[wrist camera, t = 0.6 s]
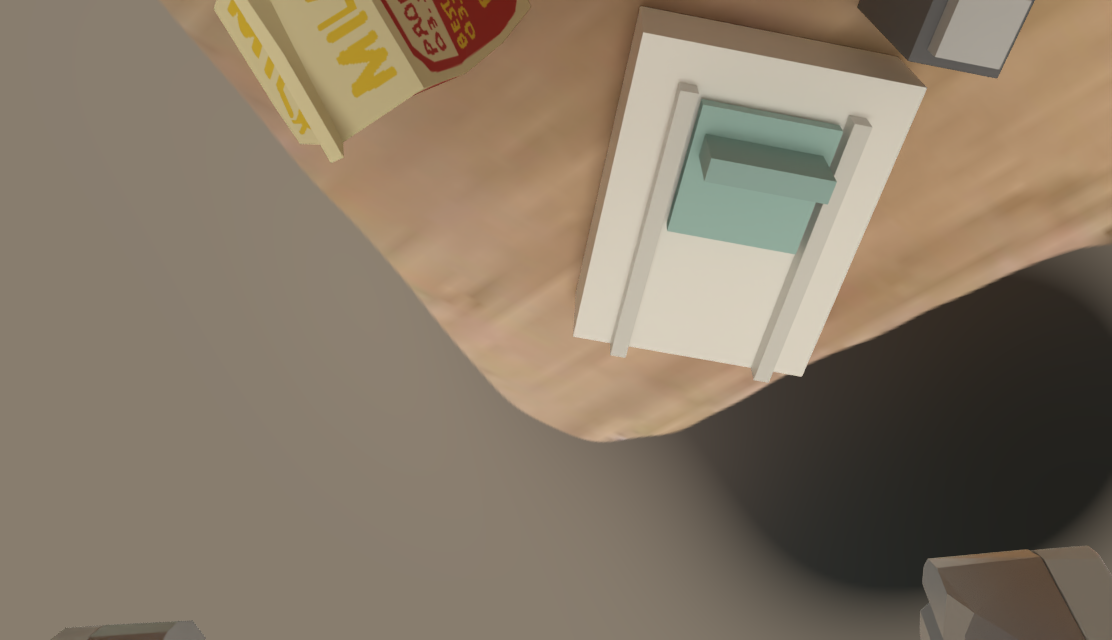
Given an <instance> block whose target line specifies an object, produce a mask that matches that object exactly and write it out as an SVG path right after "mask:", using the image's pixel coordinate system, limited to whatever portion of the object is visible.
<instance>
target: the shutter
mask: <svg viewBox="0 0 1112 640" xmlns="http://www.w3.org/2000/svg"><path fill="white" fill-rule="evenodd" d="M842 134H843V130H842V128H841V127H840V125H835V124H830V123H824V122H819V121H814V120H809V119H804V118H798V117H793V116H788V115H783V114H778V113H772V112H767V111H762V110H757V109H752V108H746V107H741V106H736V105H731V104H726V103H720V102H715V101H710V100H705V99H701V103H700V107H699V110H698V114H697V117H696V121H695V124H694V128H693V131H692V135H691V138H690V142H689V146H688V149H687V153H686V156H685V160H684V163H683V167H682V170H681V174H680V177H679V181H678V185H677V188H676V192H675V195H674V199H673V202H672V206H671V209H670V213H669V217H668V220H667V224H666V225H667V231H670V232H675V233H680V234H686V235H691V236H697V237H702V238H708V239H713V240H719V241H724V242H730V243H735V244H741V245H746V246H752V247H757V248H762V249H768V250H773V251H779V252H784V253H790V254H795V255H796V252H797V250H798V247H799V245H800V242H801V240H802V237H803V234H804V232H805V229H806V227H807V224H808V222H809V219H810V216H811V214H812V211H813V209H814V206H815V204H816V203H822V204H827V205H828V203H829V200H830V198H831V195H832V193H833V190H834V188H835V185H836V183H837V181H836V179H835V177H834V175H833V173H832V171H831V170H830V168H829V167H830V165H831V162H832V160H833V157H834V155H835V152H836V149H837V147H838V144H839V142H840V139H841V137H842Z"/></svg>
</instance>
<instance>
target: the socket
mask: <svg viewBox="0 0 1112 640" xmlns="http://www.w3.org/2000/svg"><path fill="white" fill-rule="evenodd" d="M926 89H927V87H926V86H925V85H924V84H923V83H922V82H921V81H920V80H919V79H918V78H917V77H916V75H915V74H914V73H913V72H912V71H911V70H910V69H909V68H908V67H907V66H906V65H905V64H904V63H903V62H902V61H901V59H900V58H899V57H897V56H892V55H887V54H882V53H877V52H872V51H867V50H862V49H856V48H851V47H846V46H841V45H836V44H831V43H826V42H821V41H816V40H811V39H806V38H801V37H796V36H791V35H786V34H781V33H775V32H770V31H765V30H760V29H755V28H750V27H745V26H740V25H735V24H730V23H725V22H720V21H715V20H710V19H705V18H699V17H694V16H689V15H684V14H679V13H674V12H669V11H664V10H659V9H654V8H649V7H644V6H640V9H639V13H638V18H637V22H636V26H635V31H634V35H633V40H632V44H631V49H630V53H629V58H628V62H627V66H626V71H625V75H624V80H623V84H622V89H621V93H620V98H619V102H618V106H617V111H616V115H615V120H614V124H613V129H612V133H611V138H610V142H609V146H608V151H607V155H606V160H605V164H604V169H603V173H602V178H601V182H600V187H599V191H598V195H597V200H596V204H595V209H594V213H593V218H592V222H591V227H590V231H589V235H588V240H587V244H586V249H585V253H584V258H583V262H582V267H581V271H580V275H579V280H578V284H577V289H576V297H575V313H574V329H573V337H578V338H584V339H590V340H595V341H601V342H607V343H610V355H613V356H618V357H624V358H625V357H626V354H627V350H628V347H629V346H630V347H635V348H641V349H647V350H653V351H658V352H664V353H670V354H675V355H681V356H687V357H693V358H698V359H704V360H710V361H716V362H721V363H727V364H733V365H738V366H744V367H750V368H751V370H752V375H753V379H754V380H756V381H762V382H768V383H769V380H770V378H771V376H772V373H773V372H778V373H784V374H790V375H796V376H802V375H803V373H804V370H805V368H806V366H807V363H808V361H809V359H810V356H811V354H812V352H813V350H814V347H815V345H816V343H817V340H818V338H819V336H820V333H821V331H822V329H823V327H824V324H825V322H826V320H827V317H828V315H829V313H830V310H831V308H832V306H833V304H834V301H835V299H836V297H837V294H838V292H839V290H840V287H841V285H842V283H843V280H844V278H845V276H846V274H847V271H848V269H849V267H850V264H851V262H852V260H853V257H854V255H855V253H856V251H857V248H858V246H859V244H860V241H861V239H862V237H863V234H864V232H865V230H866V228H867V225H868V223H869V221H870V218H871V216H872V214H873V211H874V209H875V207H876V204H877V202H878V200H879V198H880V195H881V193H882V191H883V188H884V186H885V184H886V181H887V179H888V177H889V175H890V172H891V170H892V168H893V165H894V163H895V161H896V158H897V156H898V154H899V151H900V149H901V147H902V145H903V142H904V140H905V138H906V135H907V133H908V131H909V128H910V126H911V124H912V122H913V119H914V117H915V115H916V112H917V110H918V108H919V105H920V103H921V101H922V99H923V96H924V94H925V92H926ZM701 99H705V100H710V101H715V102H720V103H726V104H731V105H736V106H741V107H746V108H752V109H757V110H762V111H767V112H772V113H778V114H783V115H788V116H793V117H798V118H804V119H809V120H814V121H819V122H824V123H830V124H835V125H840V127H841V128H842V130H843V134H842V137H841V139H840V142H839V144H838V147H837V149H836V152H835V155H834V157H833V160H832V162H831V165H830V167H829V168H830V170H831V171H832V173H833V175H834V177H835V179H836V181H837V183H836V185H835V188H834V190H833V193H832V195H831V198H830V200H829V203H828V205H827V204H822V203H816V204H815V206H814V209H813V211H812V214H811V216H810V219H809V222H808V224H807V227H806V229H805V232H804V234H803V237H802V240H801V242H800V245H799V247H798V250H797V252H796V255H795V254H790V253H784V252H779V251H773V250H768V249H762V248H757V247H752V246H746V245H741V244H735V243H730V242H724V241H719V240H713V239H708V238H702V237H697V236H691V235H686V234H680V233H675V232H670V231H667V225H666V224H667V220H668V217H669V213H670V209H671V206H672V202H673V199H674V195H675V192H676V188H677V185H678V181H679V177H680V174H681V170H682V167H683V163H684V160H685V156H686V153H687V149H688V146H689V142H690V138H691V135H692V131H693V128H694V124H695V121H696V117H697V114H698V110H699V107H700V103H701Z"/></svg>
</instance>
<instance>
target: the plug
mask: <svg viewBox="0 0 1112 640" xmlns="http://www.w3.org/2000/svg"><path fill="white" fill-rule="evenodd" d="M1034 1H1035V0H860V1H859V4H858V7H857V8H858V9H859V10H860V11H861V12H862V13H863V14H864V15H865V16H866V17H867V18H868V19H869V20H870V21H871V22H872V23H873V24H874V25H875V27H876V28H877V29H878V30H879V31H880V32H881V33H882V34H883V35H884V36H885V37H886V38H887V39H888V40H889V41H890V42H891V43H892V44H893V46H894V47H895V48H896V49H897V50H898V51H899V52H900V53H901V54H902V55H903V56H904V57H905V58H906V59H907V60H908V61H911V62H916V63H921V64H926V65H931V66H936V67H941V68H947V69H952V70H957V71H962V72H967V73H972V74H977V75H982V76H987V77H992V78H998V76H999V74H1000V72H1001V70H1002V67H1003V65H1004V63H1005V61H1006V59H1007V57H1008V55H1009V53H1010V51H1011V49H1012V47H1013V45H1014V42H1015V40H1016V38H1017V36H1018V34H1019V32H1020V30H1021V28H1022V26H1023V24H1024V22H1025V20H1026V17H1027V15H1028V13H1029V11H1030V9H1031V7H1032V5H1033V3H1034Z"/></svg>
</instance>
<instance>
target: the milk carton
mask: <svg viewBox="0 0 1112 640" xmlns="http://www.w3.org/2000/svg"><path fill="white" fill-rule="evenodd" d="M530 8H531V6H530V4H529V2H528V0H217V1H216V3H215V6H214V10H215V12H216V13H217V15H218V17H219V18H220V20H221V21H222V23H223V25H224V26H225V28H226V29H227V31H228V33H229V34H230V36H231V38H232V39H233V41H234V42H235V44H236V46H237V47H238V49H239V50H240V52H241V54H242V55H243V57H244V58H245V60H246V62H247V63H248V65H249V66H250V68H251V70H252V71H253V73H254V74H255V76H256V78H257V79H258V81H259V82H260V84H261V86H262V87H263V89H264V90H265V92H266V94H267V95H268V97H269V98H270V100H271V102H272V103H273V105H274V106H275V108H276V110H277V111H278V112H279V114H280V115H281V117H282V118H283V120H284V121H285V123H286V124H287V125H288V127H289V128H290V130H291V131H292V133H293V134H294V136H295V137H296V139H297V140H298V141H299V143H300V144H320V145H321V147H322V149H323V150H324V152H325V154H326V156H327V157H328V159H329V161H330V162H331V163H332V162H335V161H337V160H339V159H342V158H344V154H343V142H344V141H346V140H347V139H349V138H350V137H352V136H353V135H355V134H356V133H358V132H359V131H361V130H362V129H364V128H365V127H367V126H368V125H370V124H371V123H373V122H374V121H376V120H377V119H379V118H380V117H382V116H383V115H385V114H386V113H388V112H389V111H391V110H392V109H394V108H395V107H396V106H398V105H399V104H401V103H402V102H404V101H405V100H407V99H408V98H410V97H411V96H413V95H416V94H418V93H420V92H423V91H425V90H428V89H430V88H432V87H435V86H437V85H439V84H442V83H444V82H446V81H449V80H451V79H453V78H456V77H458V76H460V75H463V74H465V73H467V72H468V71H469V70H471V69H472V68H473V67H474V66H475V65H477V64H478V63H479V62H480V61H481V60H483V59H484V58H485V57H486V56H487V55H489V54H490V53H491V52H492V51H493V50H494V49H496V48H497V47H498V46H499V45H500V44H502V43H503V42H504V40H505V39H506V38H507V37H508V35H509V34H510V33H511V32H512V30H513V29H514V28H515V27H516V25H517V24H518V23H519V21H520V20H521V19H522V18H523V16H524V15H525V14H526V13H527V11H528V10H529V9H530Z"/></svg>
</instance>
